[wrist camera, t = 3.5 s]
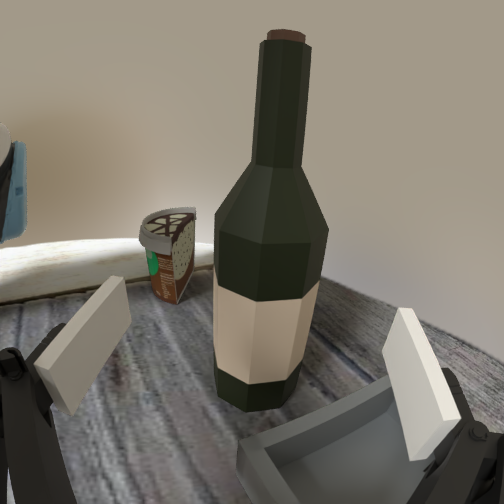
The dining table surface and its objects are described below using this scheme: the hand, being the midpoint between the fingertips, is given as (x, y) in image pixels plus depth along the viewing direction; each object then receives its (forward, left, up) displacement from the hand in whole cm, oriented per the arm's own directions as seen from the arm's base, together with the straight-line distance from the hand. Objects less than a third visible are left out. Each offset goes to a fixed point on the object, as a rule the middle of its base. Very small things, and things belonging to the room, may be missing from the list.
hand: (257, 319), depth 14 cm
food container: (-29, +1, -16) cm, 33 cm away
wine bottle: (-8, +5, -16) cm, 18 cm away
